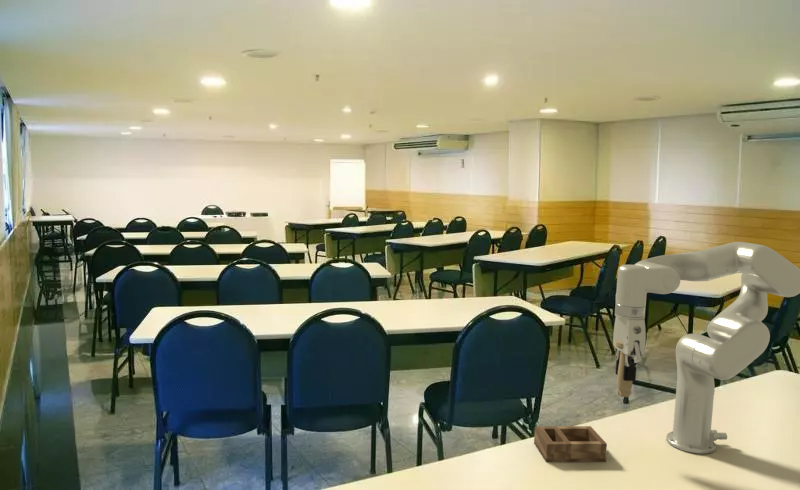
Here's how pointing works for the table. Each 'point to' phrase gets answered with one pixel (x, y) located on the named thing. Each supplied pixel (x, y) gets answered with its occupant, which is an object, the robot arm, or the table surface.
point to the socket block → (570, 444)
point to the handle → (622, 385)
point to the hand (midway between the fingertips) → (625, 376)
